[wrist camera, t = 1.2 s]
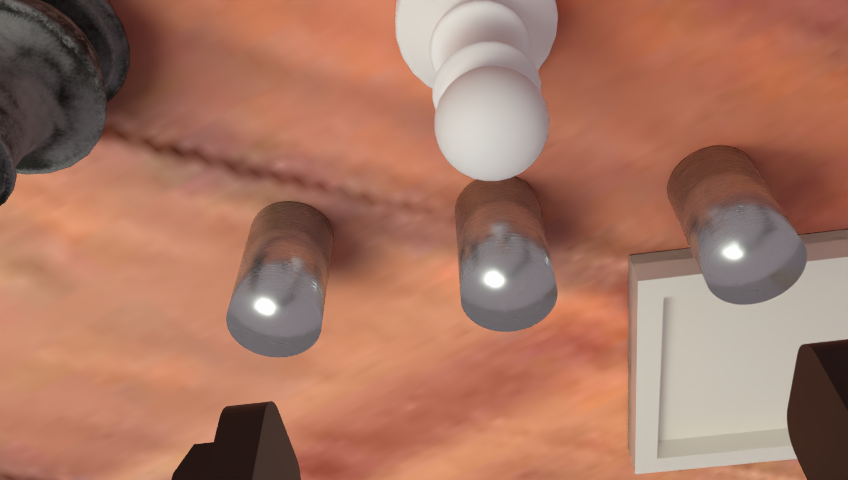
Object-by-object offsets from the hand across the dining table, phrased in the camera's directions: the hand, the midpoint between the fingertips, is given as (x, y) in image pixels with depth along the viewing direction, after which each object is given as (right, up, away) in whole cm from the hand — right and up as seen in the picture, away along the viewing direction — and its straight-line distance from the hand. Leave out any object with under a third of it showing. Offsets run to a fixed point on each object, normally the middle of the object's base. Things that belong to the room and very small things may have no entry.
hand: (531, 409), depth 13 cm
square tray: (+13, -2, +23) cm, 26 cm away
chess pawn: (0, +10, +14) cm, 17 cm away
